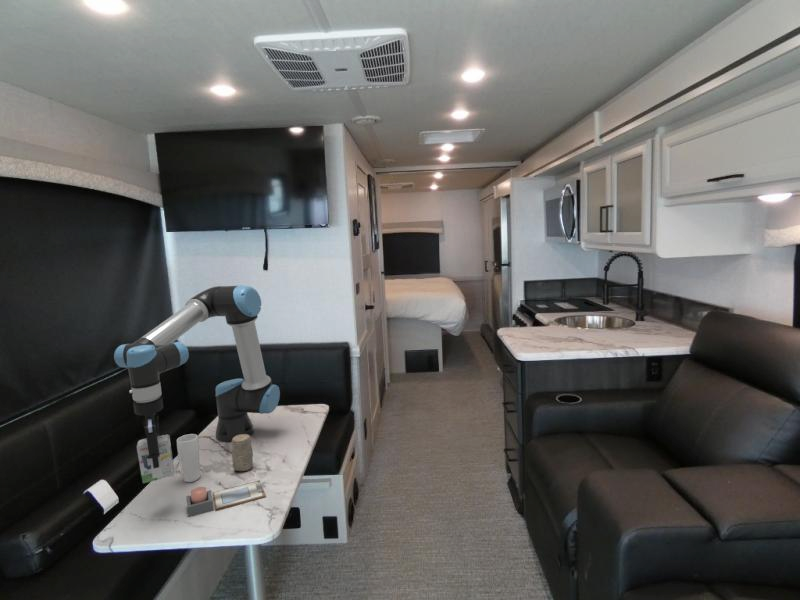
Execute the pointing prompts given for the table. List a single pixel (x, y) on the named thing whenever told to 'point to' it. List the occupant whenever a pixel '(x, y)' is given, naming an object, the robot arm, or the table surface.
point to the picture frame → (238, 495)
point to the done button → (198, 495)
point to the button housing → (199, 505)
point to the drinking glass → (189, 457)
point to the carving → (242, 452)
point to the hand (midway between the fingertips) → (158, 472)
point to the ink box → (164, 454)
